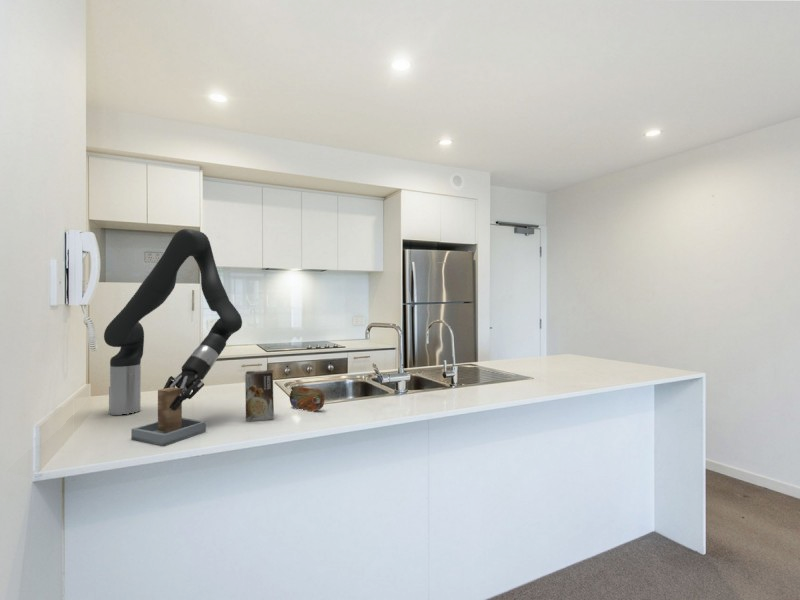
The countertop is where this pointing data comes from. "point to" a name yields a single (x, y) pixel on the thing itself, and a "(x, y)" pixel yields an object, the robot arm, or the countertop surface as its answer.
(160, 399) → the walnut block
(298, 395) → the tin
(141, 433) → the tray
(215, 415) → the countertop surface
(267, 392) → the coffee box
